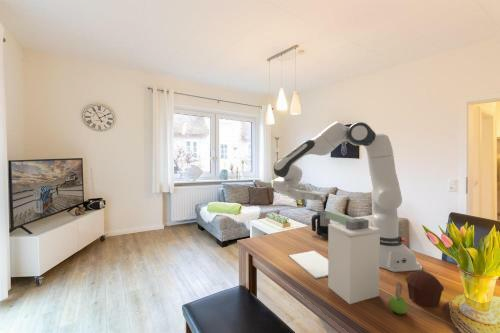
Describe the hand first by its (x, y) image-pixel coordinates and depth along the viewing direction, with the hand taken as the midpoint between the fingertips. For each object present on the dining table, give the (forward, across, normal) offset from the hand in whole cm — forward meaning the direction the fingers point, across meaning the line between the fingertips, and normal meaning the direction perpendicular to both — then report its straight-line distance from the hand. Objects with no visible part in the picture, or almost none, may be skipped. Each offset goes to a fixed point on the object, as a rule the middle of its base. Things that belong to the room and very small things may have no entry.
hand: (318, 199), depth 114 cm
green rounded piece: (+43, -4, +28) cm, 51 cm away
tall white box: (+27, -3, +30) cm, 40 cm away
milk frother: (-16, +44, +27) cm, 54 cm away
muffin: (+46, +11, +24) cm, 53 cm away
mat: (+3, +5, +32) cm, 32 cm away
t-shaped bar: (+18, -6, +5) cm, 19 cm away
